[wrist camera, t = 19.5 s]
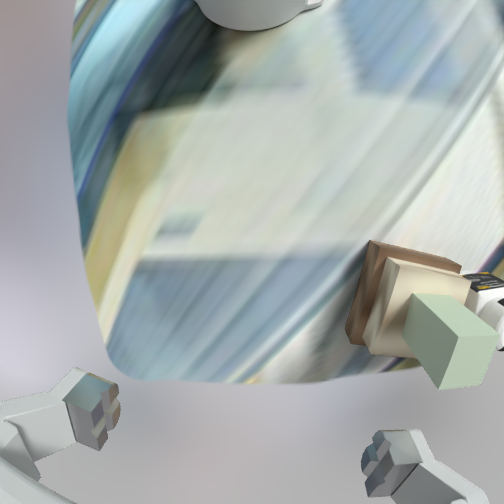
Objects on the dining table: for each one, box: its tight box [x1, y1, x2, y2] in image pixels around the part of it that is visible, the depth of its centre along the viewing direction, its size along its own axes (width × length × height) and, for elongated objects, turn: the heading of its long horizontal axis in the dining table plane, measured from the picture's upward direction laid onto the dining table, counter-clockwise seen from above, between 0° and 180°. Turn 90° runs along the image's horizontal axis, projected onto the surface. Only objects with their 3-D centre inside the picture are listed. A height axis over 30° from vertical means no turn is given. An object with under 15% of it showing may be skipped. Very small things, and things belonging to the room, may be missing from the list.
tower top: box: [362, 257, 471, 358], centre depth 31 cm, size 10×10×4 cm
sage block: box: [402, 293, 500, 390], centre depth 24 cm, size 5×5×10 cm
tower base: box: [345, 240, 462, 346], centre depth 35 cm, size 12×12×4 cm
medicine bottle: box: [461, 272, 504, 351], centre depth 30 cm, size 7×7×12 cm
